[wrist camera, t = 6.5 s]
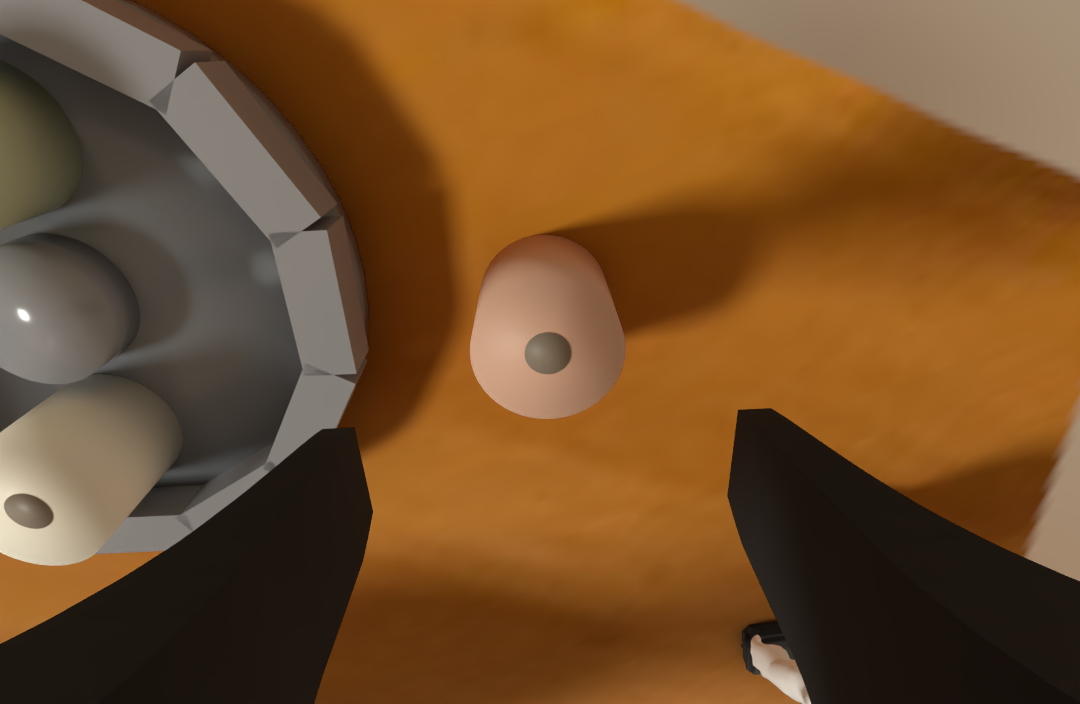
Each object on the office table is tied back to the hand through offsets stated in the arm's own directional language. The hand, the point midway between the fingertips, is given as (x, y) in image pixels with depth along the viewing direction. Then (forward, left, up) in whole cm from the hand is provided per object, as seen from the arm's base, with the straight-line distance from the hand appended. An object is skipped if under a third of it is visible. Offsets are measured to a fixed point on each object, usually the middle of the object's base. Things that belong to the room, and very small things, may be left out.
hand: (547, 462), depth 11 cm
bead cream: (-4, +14, -8) cm, 16 cm away
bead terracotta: (0, 0, -9) cm, 9 cm away
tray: (+1, +14, -8) cm, 16 cm away
